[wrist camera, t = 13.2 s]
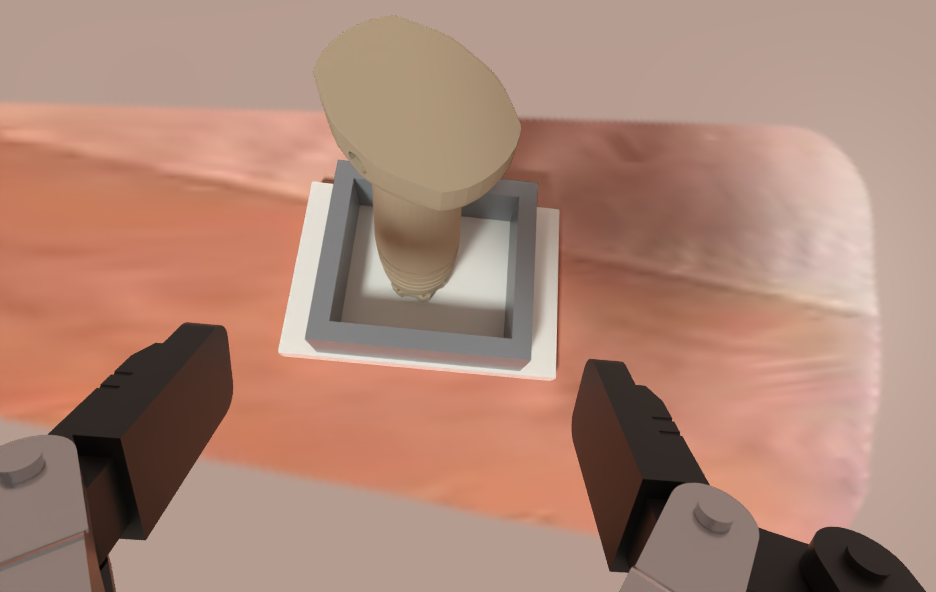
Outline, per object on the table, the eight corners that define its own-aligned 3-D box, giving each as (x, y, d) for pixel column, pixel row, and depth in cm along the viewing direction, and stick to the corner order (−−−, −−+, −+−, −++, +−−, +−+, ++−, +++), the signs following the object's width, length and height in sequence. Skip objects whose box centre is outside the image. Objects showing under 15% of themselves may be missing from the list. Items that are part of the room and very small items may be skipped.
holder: (282, 356, 28) (261, 338, 24) (315, 190, 31) (301, 152, 27) (551, 381, 29) (571, 368, 25) (555, 216, 32) (573, 183, 28)
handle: (410, 214, 30) (402, -7, 16) (487, 288, 29) (552, 123, 15) (347, 265, 29) (279, 74, 15) (426, 345, 28) (434, 223, 14)
